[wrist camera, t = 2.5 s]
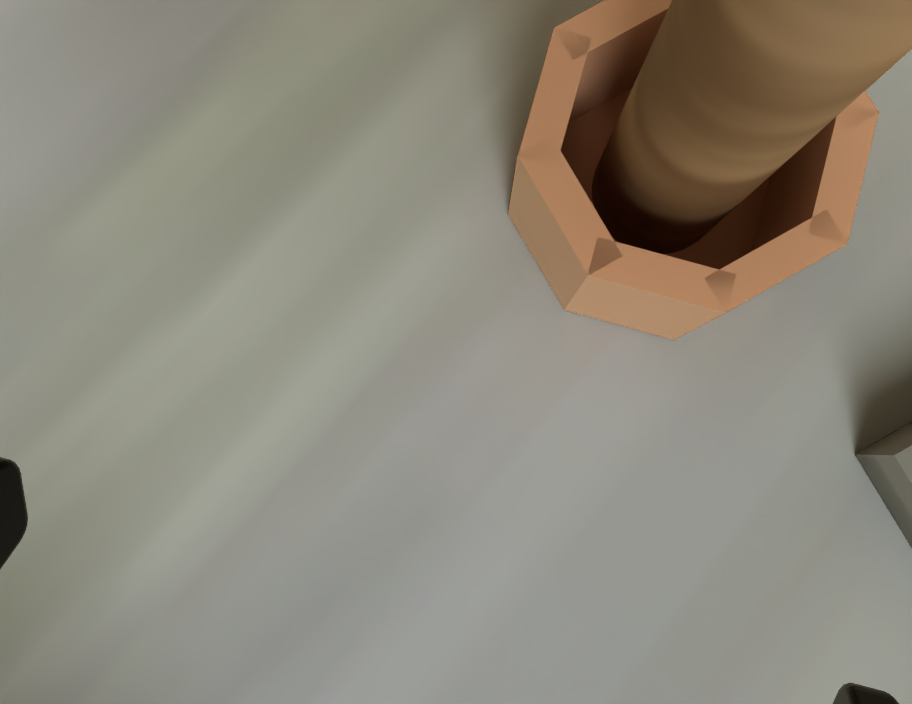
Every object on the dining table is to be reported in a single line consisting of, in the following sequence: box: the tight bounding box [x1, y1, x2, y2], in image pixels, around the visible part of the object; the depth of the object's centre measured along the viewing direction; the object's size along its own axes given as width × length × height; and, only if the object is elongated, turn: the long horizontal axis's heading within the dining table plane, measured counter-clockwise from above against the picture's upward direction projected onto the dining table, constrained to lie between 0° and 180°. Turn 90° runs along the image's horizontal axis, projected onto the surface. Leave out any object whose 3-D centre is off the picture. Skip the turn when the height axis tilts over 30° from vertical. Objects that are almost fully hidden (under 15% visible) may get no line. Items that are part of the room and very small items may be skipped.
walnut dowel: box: [592, 0, 912, 254], centre depth 16 cm, size 3×3×12 cm
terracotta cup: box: [508, 0, 879, 340], centre depth 20 cm, size 7×7×4 cm
